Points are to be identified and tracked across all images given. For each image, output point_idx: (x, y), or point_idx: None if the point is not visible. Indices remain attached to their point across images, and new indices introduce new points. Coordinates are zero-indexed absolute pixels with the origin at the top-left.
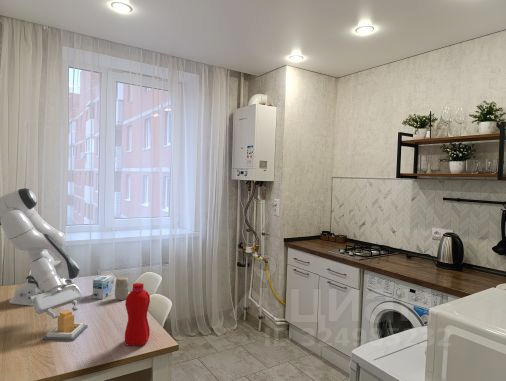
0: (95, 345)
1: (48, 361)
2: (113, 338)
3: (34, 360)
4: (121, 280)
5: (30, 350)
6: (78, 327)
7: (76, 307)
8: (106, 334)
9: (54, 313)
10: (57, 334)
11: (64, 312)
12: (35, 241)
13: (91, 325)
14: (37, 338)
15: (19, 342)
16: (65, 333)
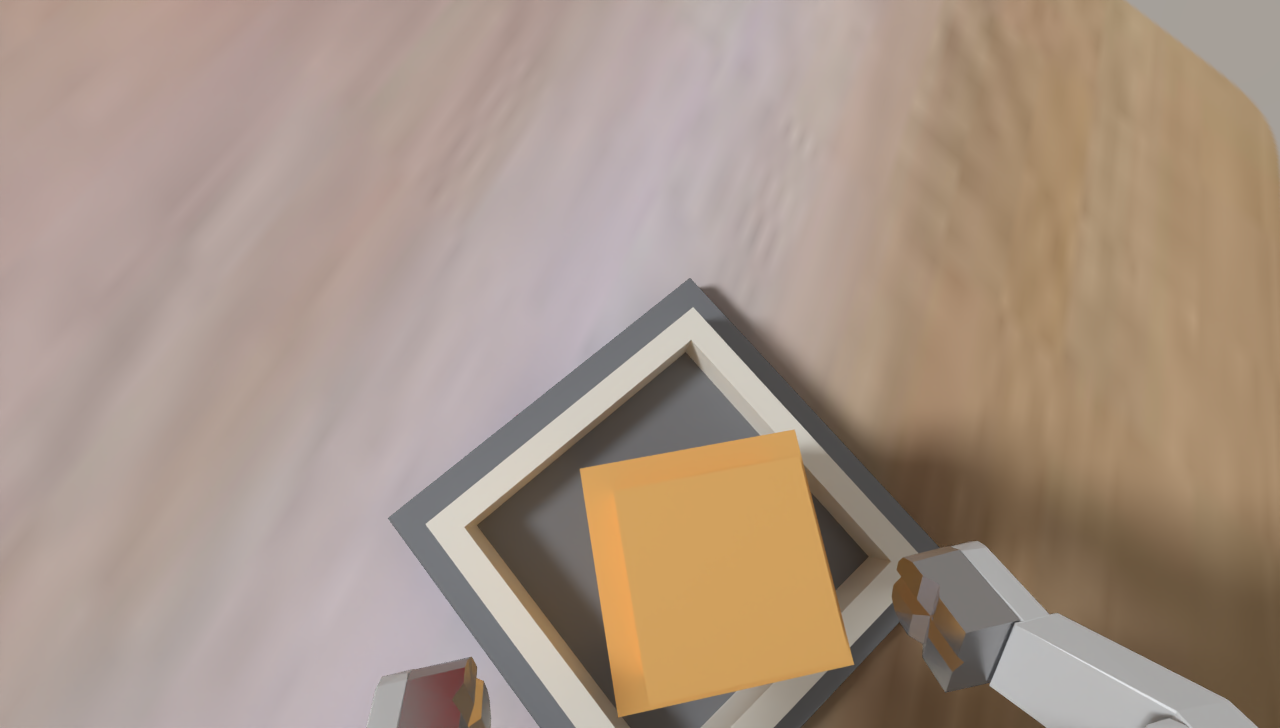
0: (578, 63)
1: (977, 93)
2: (387, 63)
3: (1067, 186)
4: None
5: (1074, 400)
6: (553, 427)
7: (398, 708)
8: (375, 181)
9: (1007, 617)
10: (817, 449)
11: (766, 568)
12: None
13: (334, 538)
14: None
15: None
16: (747, 373)
